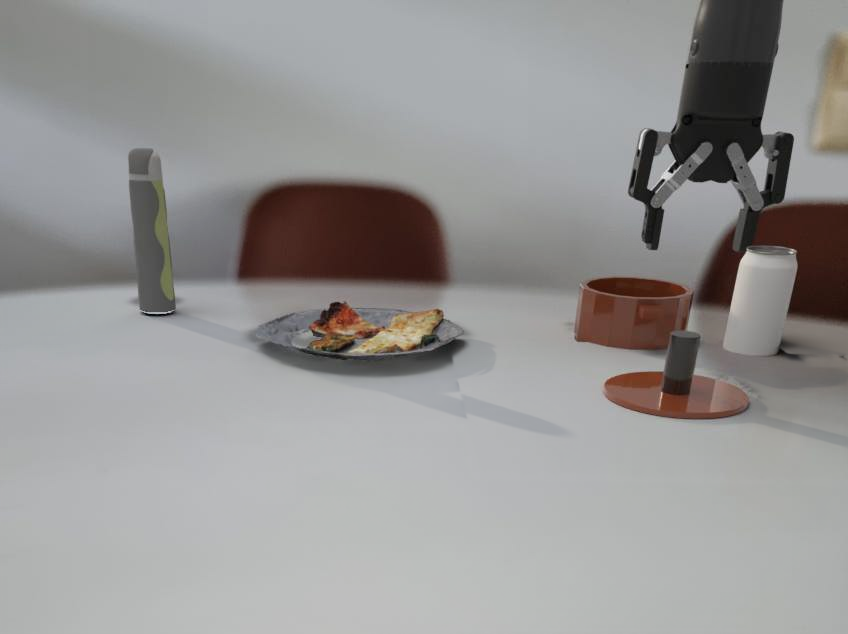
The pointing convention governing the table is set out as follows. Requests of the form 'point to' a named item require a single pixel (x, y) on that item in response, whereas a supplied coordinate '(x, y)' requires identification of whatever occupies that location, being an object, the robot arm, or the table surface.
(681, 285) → the dish
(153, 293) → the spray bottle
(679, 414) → the cover
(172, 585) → the table surface
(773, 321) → the can
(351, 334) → the food plate
